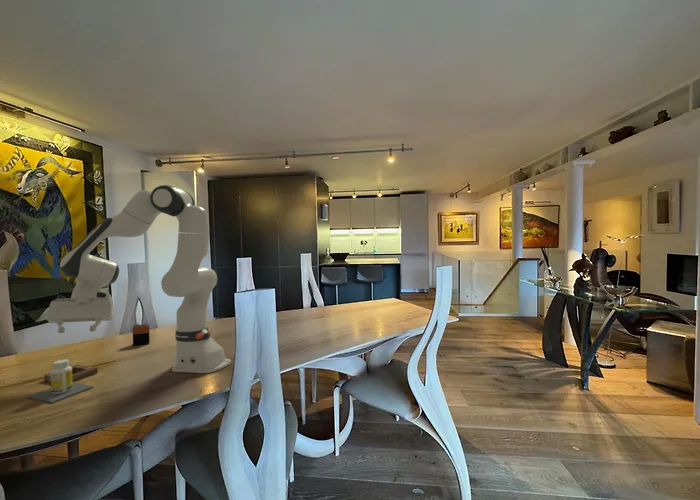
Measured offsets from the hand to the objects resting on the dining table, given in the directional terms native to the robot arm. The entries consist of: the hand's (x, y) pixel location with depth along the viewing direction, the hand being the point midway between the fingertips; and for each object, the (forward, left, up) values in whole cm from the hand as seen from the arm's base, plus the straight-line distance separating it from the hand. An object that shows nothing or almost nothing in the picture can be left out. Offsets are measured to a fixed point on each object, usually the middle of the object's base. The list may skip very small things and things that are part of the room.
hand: (76, 331), depth 125 cm
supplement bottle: (-11, +11, -16) cm, 22 cm away
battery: (+15, -38, -17) cm, 44 cm away
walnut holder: (+1, +1, -16) cm, 17 cm away
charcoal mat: (-11, +11, -16) cm, 22 cm away
